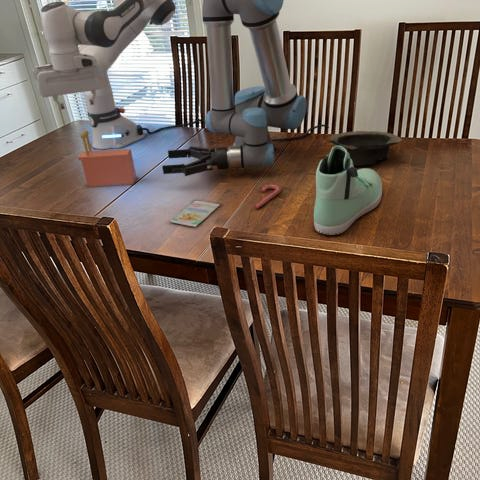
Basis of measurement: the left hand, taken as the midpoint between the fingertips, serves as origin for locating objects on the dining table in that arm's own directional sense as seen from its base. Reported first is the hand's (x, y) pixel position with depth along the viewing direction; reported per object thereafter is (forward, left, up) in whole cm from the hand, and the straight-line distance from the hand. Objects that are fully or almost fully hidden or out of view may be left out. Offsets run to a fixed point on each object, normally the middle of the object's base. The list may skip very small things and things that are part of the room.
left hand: (77, 106), depth 154 cm
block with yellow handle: (-4, +4, -17) cm, 18 cm away
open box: (-4, +4, -27) cm, 27 cm away
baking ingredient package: (-6, +46, -27) cm, 53 cm away
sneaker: (-36, +79, -27) cm, 91 cm away
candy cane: (-26, +56, -27) cm, 67 cm away
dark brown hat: (-71, +62, -27) cm, 98 cm away
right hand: (-17, +19, -20) cm, 33 cm away
